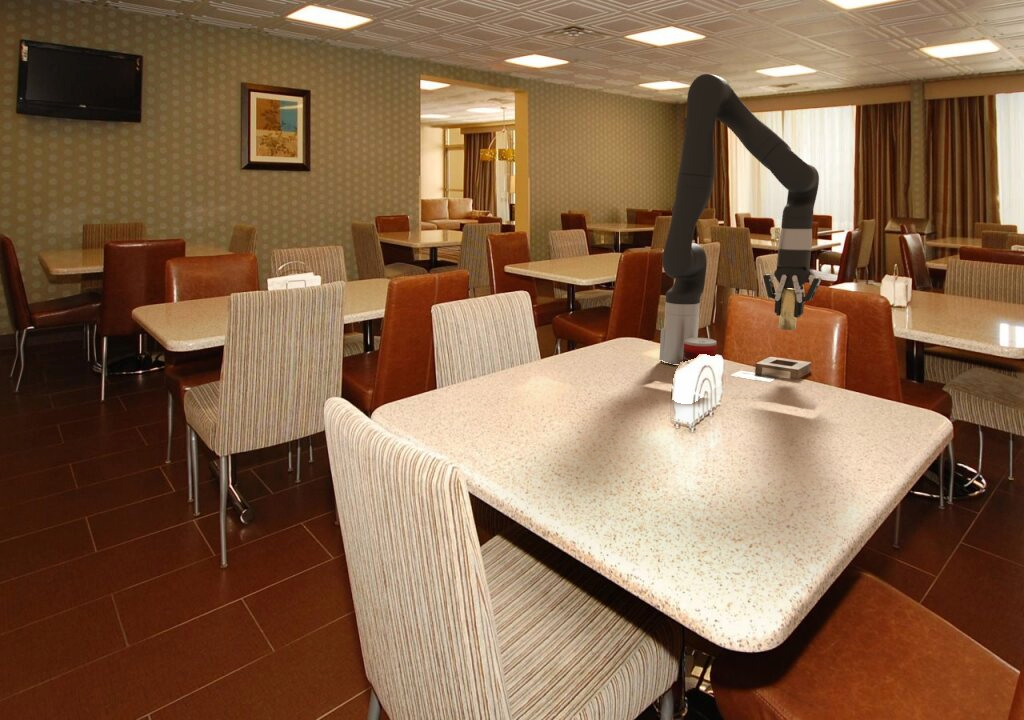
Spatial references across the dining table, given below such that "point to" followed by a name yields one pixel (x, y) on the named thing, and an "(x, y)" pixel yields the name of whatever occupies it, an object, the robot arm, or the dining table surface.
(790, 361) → the grey square socket block
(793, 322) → the cylinder
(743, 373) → the white flat slab
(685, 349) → the canned food
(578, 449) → the dining table surface
